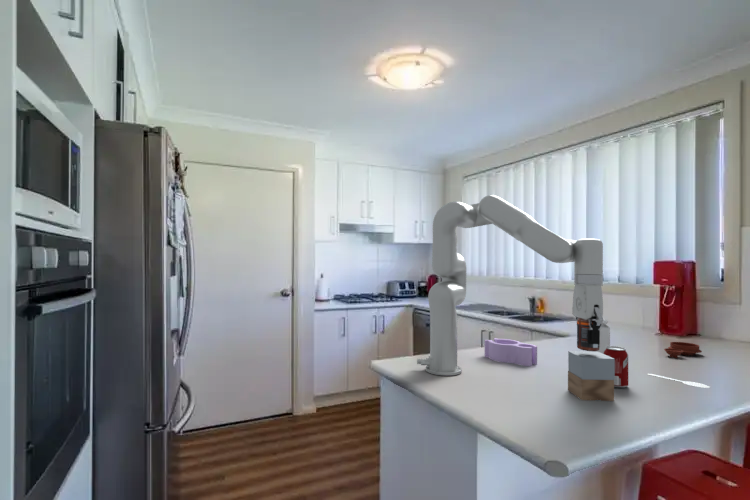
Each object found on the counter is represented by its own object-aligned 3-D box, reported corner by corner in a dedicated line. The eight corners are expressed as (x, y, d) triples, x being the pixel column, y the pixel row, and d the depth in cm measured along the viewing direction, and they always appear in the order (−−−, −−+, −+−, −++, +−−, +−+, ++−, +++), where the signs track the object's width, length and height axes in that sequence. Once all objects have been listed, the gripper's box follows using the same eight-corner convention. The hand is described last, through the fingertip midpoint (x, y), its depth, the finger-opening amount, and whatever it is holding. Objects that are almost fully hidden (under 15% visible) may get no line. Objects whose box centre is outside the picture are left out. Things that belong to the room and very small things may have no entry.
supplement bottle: (602, 352, 117) (602, 312, 118) (580, 351, 118) (580, 312, 119) (595, 348, 123) (596, 310, 123) (574, 346, 124) (574, 309, 125)
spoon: (651, 373, 146) (651, 372, 146) (713, 387, 130) (713, 385, 130) (643, 375, 143) (643, 374, 143) (706, 390, 127) (706, 388, 127)
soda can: (620, 390, 125) (619, 350, 125) (599, 384, 131) (599, 346, 131) (633, 387, 128) (632, 349, 129) (612, 381, 134) (612, 344, 135)
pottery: (706, 355, 175) (706, 345, 175) (687, 361, 164) (686, 350, 165) (674, 350, 185) (674, 340, 185) (654, 355, 174) (654, 345, 174)
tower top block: (582, 379, 116) (582, 358, 116) (568, 370, 125) (568, 351, 125) (614, 380, 116) (614, 358, 116) (598, 371, 125) (598, 351, 125)
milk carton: (588, 366, 153) (588, 315, 154) (586, 362, 160) (586, 313, 160) (610, 368, 151) (610, 317, 151) (607, 364, 157) (607, 314, 158)
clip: (542, 363, 159) (542, 345, 159) (525, 368, 151) (525, 349, 151) (497, 353, 174) (498, 337, 174) (480, 357, 166) (480, 340, 166)
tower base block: (581, 400, 116) (581, 379, 116) (567, 390, 125) (567, 370, 125) (614, 401, 115) (613, 380, 116) (598, 391, 124) (597, 371, 125)
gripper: (563, 278, 130) (563, 335, 130) (589, 281, 113) (588, 347, 112) (587, 279, 130) (587, 336, 129) (617, 282, 112) (616, 348, 112)
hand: (588, 340), depth 121 cm, fingers closed on supplement bottle, 6 cm apart
